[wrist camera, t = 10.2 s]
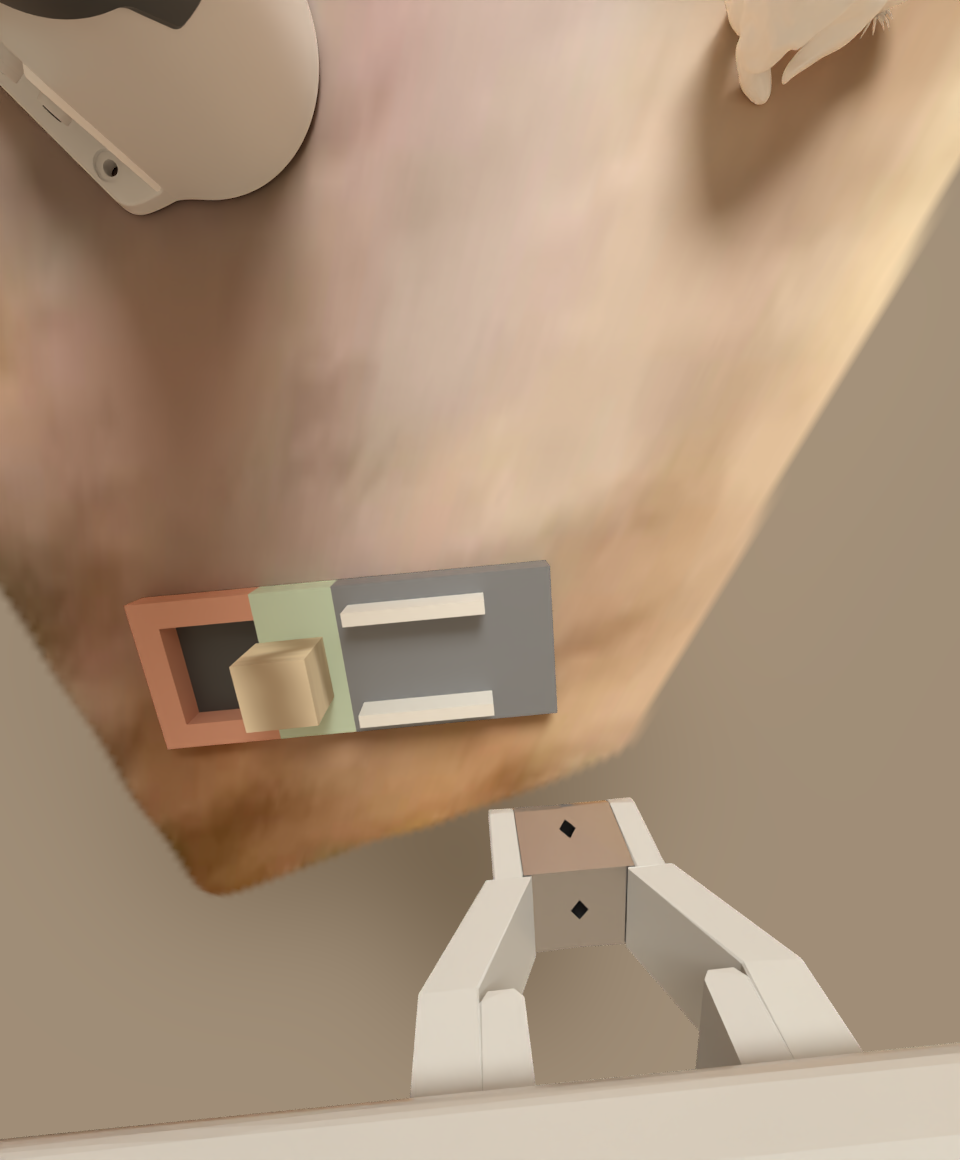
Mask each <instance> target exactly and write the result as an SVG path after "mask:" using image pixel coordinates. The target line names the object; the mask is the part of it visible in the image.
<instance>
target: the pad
mask: <svg viewBox="0 0 960 1160" xmlns="http://www.w3.org/2000/svg"><path fill="white" fill-rule="evenodd" d="M336 581H337V580H327V581H317V582H306V583H295V584H284V585H274V586H263V587H259V588H257V589H255V590H254V591H252V592H251V593H249V594H248V598H249V602H250V607H251V611H252V615H253V620H254V624H255V628H256V633H257V637H258V641H259V643H265V642H275V641H284V640H294V639H304V638H314V637H323V642H324V647H325V652H326V657H327V662H328V667H329V672H330V677H331V682H332V687H333V692H334V698H333V700H332V702H331V704H330V705H329V707H328V709H327V711H326V713H325V715H324V716H323V718H322V720H321V722H320V724H319V725H318V726H310V727H301V728H291V729H281V730H279V732H280V737H281V739H283V738H294V737H305V736H315V735H326V734H337V733H347V732H356V726H355V721H354V715H353V710H352V704H351V699H350V693H349V688H348V682H347V677H346V671H345V666H344V660H343V655H342V649H341V644H340V638H339V633H338V627H337V622H336V616H335V611H334V605H333V600H332V594H331V588H330V586H331V585H332V584H333V583H335V582H336Z"/></svg>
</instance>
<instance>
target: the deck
mask: <svg viewBox="0 0 960 1160" xmlns="http://www.w3.org/2000/svg"><path fill="white" fill-rule="evenodd" d="M257 588H259V587H252V588H241V589H231V590H220V591H209V592H198V593H188V594H177V595H166V596H156V597H145V598H141V599H138V600H136V601H134V602H132V603H129V604H127V605H125V606H124V608H125V612H126V615H127V618H128V622H129V625H130V628H131V631H132V635H133V638H134V641H135V644H136V648H137V651H138V654H139V657H140V661H141V664H142V667H143V670H144V674H145V677H146V680H147V683H148V687H149V690H150V693H151V697H152V700H153V703H154V706H155V710H156V713H157V716H158V719H159V723H160V726H161V729H162V732H163V736H164V739H165V742H166V745H167V749H177V748H188V747H198V746H209V745H219V744H230V743H241V742H251V741H262V740H273V739H281V737H280V732H279V730H271V731H261V732H252V733H246V730H245V726H244V722H243V718H242V714H241V711H240V707H239V703H238V699H237V695H236V692H235V688H234V684H233V680H232V676H231V673H230V669H229V667H230V666H231V665H232V664H233V663H234V662H235V661H236V660H238V659H239V658H240V657H241V656H242V655H243V654H244V653H245V652H247V651H248V650H249V649H250V648H251V647H252V646H253V645H254V644H256V643H259V641H258V637H257V633H256V628H255V624H254V620H253V615H252V611H251V607H250V602H249V598H248V594H249V593H251V592H252V591H254V590H255V589H257ZM330 588H331V594H332V600H333V605H334V611H335V616H336V622H337V627H338V633H339V638H340V644H341V649H342V655H343V660H344V666H345V671H346V677H347V682H348V688H349V693H350V699H351V704H352V710H353V715H354V721H355V726H356V732H358V731H368V730H379V729H390V728H400V727H411V726H422V725H432V724H443V723H453V722H464V721H475V720H485V719H496V718H507V717H517V716H528V715H539V714H549V713H557V696H556V677H555V657H554V638H553V618H552V599H551V579H550V566H549V564H548V563H547V562H546V560H542V561H531V562H521V563H510V564H499V565H488V566H478V567H467V568H456V569H445V570H435V571H424V572H413V573H402V574H392V575H381V576H370V577H359V578H349V579H338V580H337V581H336V582H335V583H333V584H332V585H331V586H330ZM481 592H483V596H484V606H485V614H482V615H471V616H461V617H450V618H439V619H428V620H418V621H407V622H396V623H386V624H375V625H364V626H354V627H343V628H342V622H341V616H340V613H341V612H342V611H343V610H344V608H345V607H346V606H347V605H353V604H363V603H374V602H385V601H396V600H406V599H417V598H428V597H438V596H449V595H460V594H471V593H481ZM490 690H492V695H493V705H494V715H495V716H485V717H474V718H464V719H453V720H442V721H432V722H421V723H410V724H400V725H389V726H378V727H368V728H360V723H359V717H358V716H359V713H360V711H361V709H362V706H363V704H364V702H373V701H383V700H394V699H405V698H415V697H426V696H437V695H447V694H458V693H469V692H479V691H490Z"/></svg>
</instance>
